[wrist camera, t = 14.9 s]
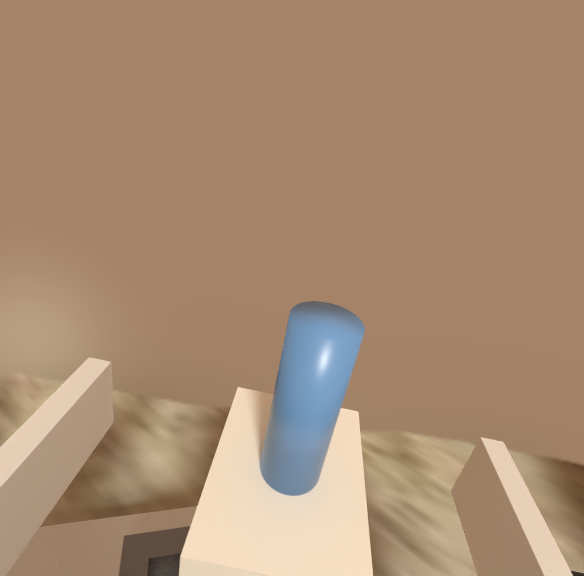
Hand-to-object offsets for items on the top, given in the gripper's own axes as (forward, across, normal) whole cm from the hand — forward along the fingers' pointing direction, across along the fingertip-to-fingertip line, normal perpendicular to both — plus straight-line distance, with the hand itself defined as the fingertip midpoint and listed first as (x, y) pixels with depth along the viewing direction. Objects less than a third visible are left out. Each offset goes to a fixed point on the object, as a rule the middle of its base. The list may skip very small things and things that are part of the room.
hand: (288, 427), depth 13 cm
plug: (-4, 0, -10) cm, 10 cm away
